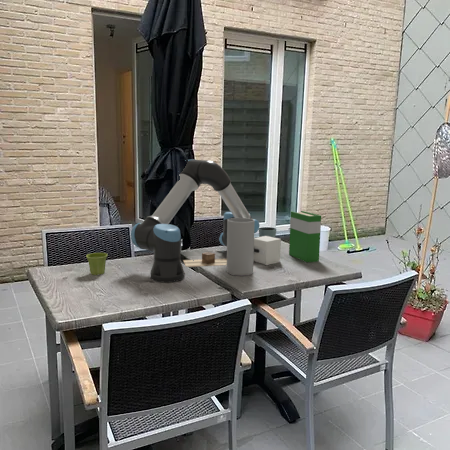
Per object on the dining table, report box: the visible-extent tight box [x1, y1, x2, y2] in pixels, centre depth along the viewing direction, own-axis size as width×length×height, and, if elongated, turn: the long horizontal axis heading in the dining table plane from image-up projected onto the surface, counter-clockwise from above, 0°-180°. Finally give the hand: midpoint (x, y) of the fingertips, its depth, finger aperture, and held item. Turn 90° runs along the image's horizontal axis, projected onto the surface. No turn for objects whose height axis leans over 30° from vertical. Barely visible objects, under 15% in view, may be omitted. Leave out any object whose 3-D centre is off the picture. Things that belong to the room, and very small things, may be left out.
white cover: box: [253, 236, 282, 266], centre depth 232 cm, size 10×10×12 cm
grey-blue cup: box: [258, 226, 277, 238], centre depth 261 cm, size 10×10×12 cm
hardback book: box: [288, 210, 322, 263], centre depth 240 cm, size 18×7×24 cm, turn 23°
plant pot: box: [85, 252, 108, 276], centre depth 206 cm, size 9×9×9 cm
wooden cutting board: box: [182, 258, 227, 268], centre depth 227 cm, size 13×24×1 cm, turn 101°
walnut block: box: [201, 251, 216, 264], centre depth 227 cm, size 5×5×5 cm
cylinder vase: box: [226, 218, 256, 277], centre depth 210 cm, size 12×12×25 cm
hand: (272, 250), depth 229 cm, fingers closed on white cover, 10 cm apart
